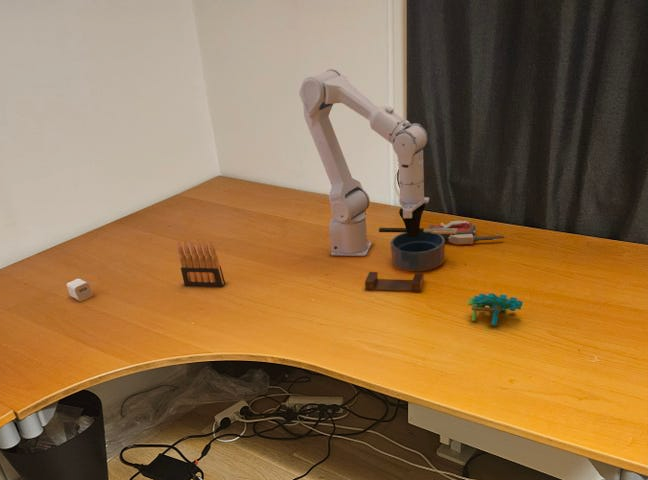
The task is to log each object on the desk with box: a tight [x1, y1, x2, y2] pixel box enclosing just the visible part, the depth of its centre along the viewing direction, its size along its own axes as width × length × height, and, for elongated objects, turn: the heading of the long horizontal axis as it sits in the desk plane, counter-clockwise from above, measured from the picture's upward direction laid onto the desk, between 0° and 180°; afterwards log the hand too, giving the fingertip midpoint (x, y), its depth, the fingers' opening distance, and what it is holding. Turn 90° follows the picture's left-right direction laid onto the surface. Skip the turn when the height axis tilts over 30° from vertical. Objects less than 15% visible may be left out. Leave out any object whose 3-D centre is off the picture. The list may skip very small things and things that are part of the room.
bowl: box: [390, 232, 446, 272], centre depth 154 cm, size 13×13×6 cm
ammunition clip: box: [176, 240, 226, 288], centre depth 153 cm, size 11×2×12 cm, turn 75°
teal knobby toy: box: [467, 292, 524, 327], centre depth 127 cm, size 11×6×10 cm
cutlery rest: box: [364, 271, 425, 293], centre depth 145 cm, size 13×5×2 cm, turn 75°
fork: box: [378, 227, 457, 234], centre depth 150 cm, size 19×2×1 cm, turn 75°
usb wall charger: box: [66, 278, 94, 302], centre depth 158 cm, size 4×7×4 cm, turn 47°
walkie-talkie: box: [428, 219, 505, 245], centre depth 162 cm, size 9×4×20 cm
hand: (413, 235), depth 151 cm, fingers closed on fork, 1 cm apart
